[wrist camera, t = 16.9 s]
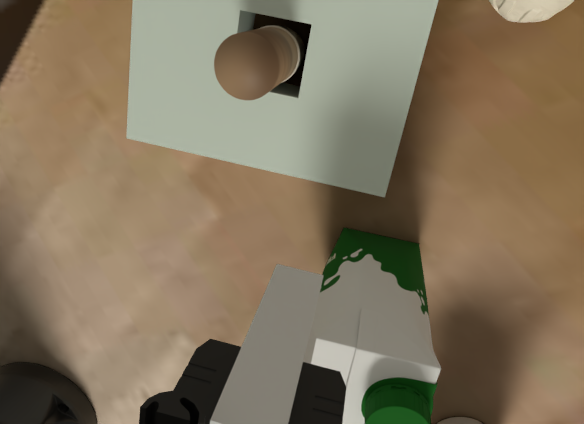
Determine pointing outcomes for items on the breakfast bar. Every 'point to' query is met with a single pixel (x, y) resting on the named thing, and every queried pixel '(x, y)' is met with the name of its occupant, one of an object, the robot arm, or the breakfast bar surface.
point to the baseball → (529, 9)
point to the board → (282, 86)
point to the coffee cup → (459, 421)
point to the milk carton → (376, 330)
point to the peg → (257, 60)
